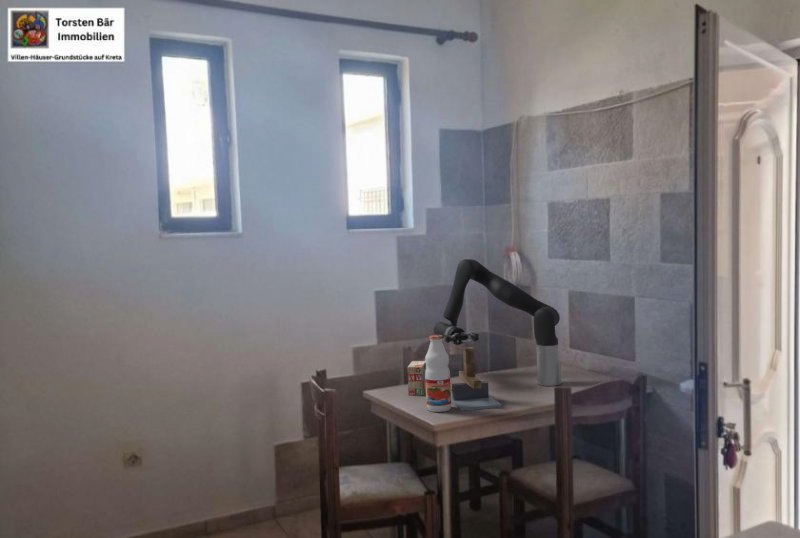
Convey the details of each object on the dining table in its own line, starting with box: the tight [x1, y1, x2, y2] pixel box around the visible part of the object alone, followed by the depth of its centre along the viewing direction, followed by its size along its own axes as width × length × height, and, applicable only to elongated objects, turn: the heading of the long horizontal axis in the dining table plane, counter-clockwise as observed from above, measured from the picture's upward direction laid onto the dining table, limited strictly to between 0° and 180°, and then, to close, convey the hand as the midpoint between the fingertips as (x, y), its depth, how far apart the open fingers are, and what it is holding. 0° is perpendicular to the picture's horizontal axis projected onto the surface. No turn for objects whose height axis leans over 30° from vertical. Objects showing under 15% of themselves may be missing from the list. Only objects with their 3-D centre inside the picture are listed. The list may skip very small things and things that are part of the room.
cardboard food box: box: [406, 360, 427, 396], centre depth 268 cm, size 21×6×12 cm, turn 169°
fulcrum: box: [451, 380, 502, 412], centre depth 246 cm, size 16×26×7 cm, turn 11°
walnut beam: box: [458, 346, 482, 389], centre depth 246 cm, size 4×20×14 cm, turn 11°
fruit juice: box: [424, 334, 452, 413], centre depth 235 cm, size 9×9×28 cm
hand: (466, 339), depth 260 cm, fingers open, 8 cm apart
